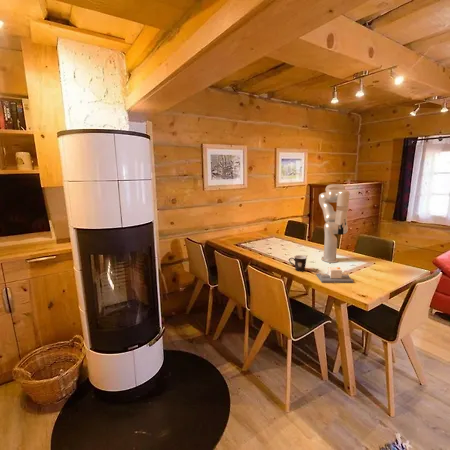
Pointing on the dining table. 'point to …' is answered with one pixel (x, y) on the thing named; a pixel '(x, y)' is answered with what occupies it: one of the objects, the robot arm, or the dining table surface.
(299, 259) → the coffee mug
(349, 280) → the mounting board
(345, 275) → the rail
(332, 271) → the block
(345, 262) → the dining table surface
